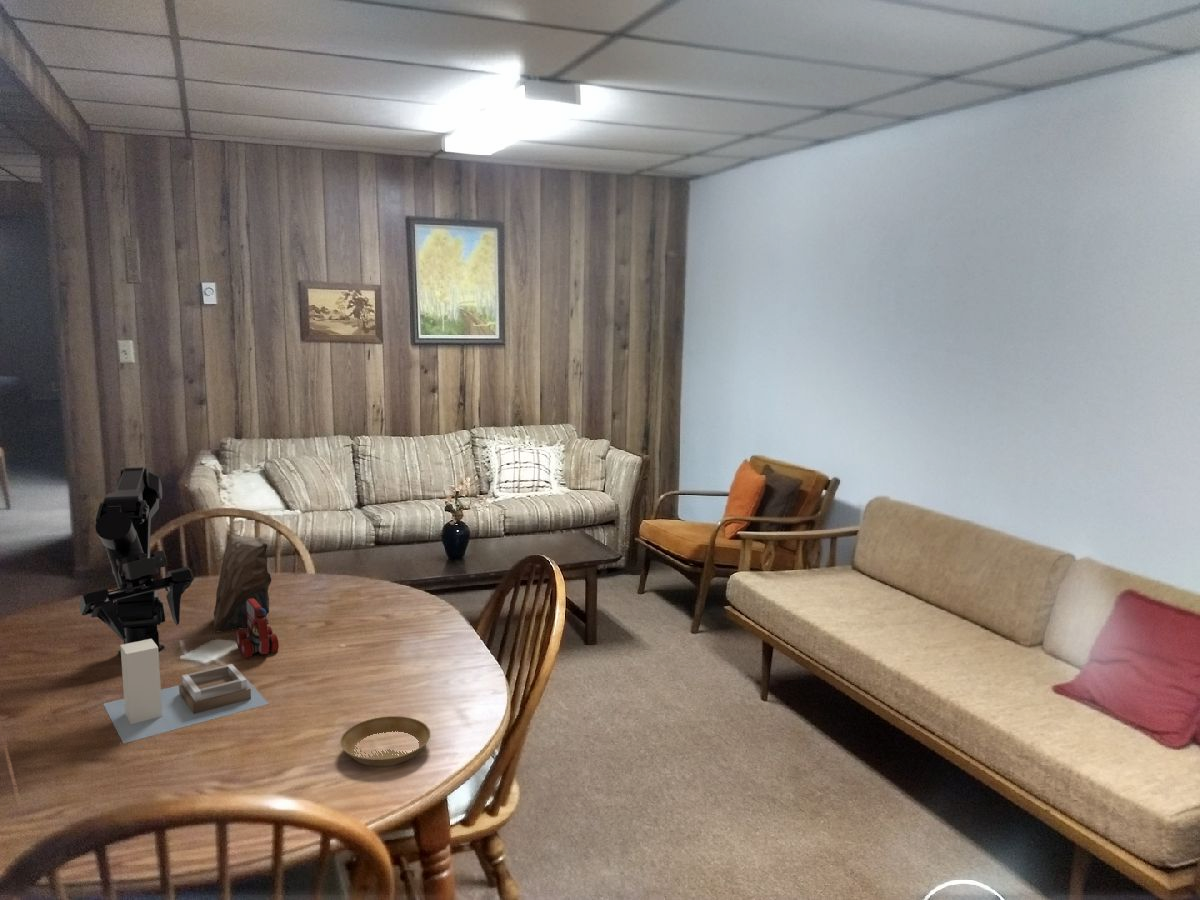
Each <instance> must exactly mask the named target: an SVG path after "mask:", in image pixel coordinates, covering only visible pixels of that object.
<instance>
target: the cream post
mask: <svg viewBox="0 0 1200 900" xmlns="http://www.w3.org/2000/svg"><path fill="white" fill-rule="evenodd" d="M119 647H120V650H121V654H120V656H121V657H120V658H121V659H120V661H121V673H122V687H123V689H122V690H123V699H124V704H125V714H126V716H127V718H128V720H129V721H130V723H131V724H134V723H138V722H142V721H146V720H150V719H153V718H157V717H161V716H162V700H161V690H162V686H161V673H160V671H161V670H160V657H159V656H160V655H159V650H158V646H157V645H156V644H155V642H154V641H153V640H152V639H147V640H142V641H137V642H132V643H128V644H124V643H122V644H120V646H119Z"/></svg>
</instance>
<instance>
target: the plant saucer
mask: <svg viewBox="0 0 1200 900" xmlns="http://www.w3.org/2000/svg"><path fill="white" fill-rule="evenodd" d="M430 729H431V728H429V726H428V725H427V724H426V723H424V722H422V721H420V720H419V719H415V718H412V717H407V716H400V715H398V716H397V715H393V716H392V715H390V716H379V717H375V718H369V719H366V720H363V721H360V722H358V723H355V724H354V725H352V726H351V727H349V728H348V729H346V731H345V732H344V733H343V734H342V735H341V737H340V747H341V748H342V750H343V751H344V752H345V754H347V755H348V756H349V757H350V758H352V759H353V760H354V761H356V762H358V763H360V764H361V765H366V766H369V765H370V767H389V766H390V767H391V766H396V765H399V764H401V763H405V762H406V761H409V760H410V759H411V758H412V759H413V757H415V756H416V755H417V754H418V753H419V752H420V751H422V749H423V748H424V747H425V746H426V745H427V743H428V742H429V740H430V738H431V730H430ZM392 731H393V732H395V731H396V732H397V731H398V732H404V733H408V734H410V735H412V736H414V737H415V738H416V739H417V740H418V741H419V742H418V743H419V748H418V749H416V750H414V751H413V750H412V752H410V753H407V752H406V751H405V752H406V754H405V753H404V752H403V751H402V753H403V754H402V753H401V752H400V751H399V753H398V752H397V751H396V752H395V751H394V750H392V751H391V750H390V749H389V750H388V749H387V751H388V752H389V753H388V752H387V751H386V750H385V751H386V753H385V752H384V751H383V750H382V751H381V752H382V754H383V756H382V754H381V753H380V752H379V751H378V753H379V754H378V753H377V751H376V750H375V751H376V753H377V754H378V756H379V757H378V756H377V755H376V753H375V755H374V754H373V753H372V751H371V753H372V754H373V756H374V757H375V758H374V757H373V756H372V758H371V756H370V755H369V754H368V756H369V758H366V756H365V755H364V756H365V758H364V757H363V755H362V754H361V753H360V754H361V756H362V757H361V756H360V757H358V755H357V756H355V754H356V752H357V750H356V749H358V748H357V747H356V746H355V745H357V743H358V742H359V743H360V741H361V740H363V739H364V738H366V737H367V736H370V735H373V734H377V733H378V734H379V733H383V732H384V733H386V732H392ZM355 747H356V749H355ZM354 749H355V750H356V752H355V751H354ZM360 752H362V751H361V749H360ZM354 753H355V754H354ZM364 753H365V752H364ZM357 754H359V753H358V752H357ZM365 754H366V753H365ZM392 754H393V755H392ZM395 754H396V755H395ZM397 754H399V756H398V755H397ZM404 761H405V762H404Z"/></svg>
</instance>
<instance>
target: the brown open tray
mask: <svg viewBox="0 0 1200 900" xmlns="http://www.w3.org/2000/svg"><path fill="white" fill-rule="evenodd" d="M239 671H240V670H238V668H237V667H235V665H234V664H233V663H229V664H224V665H221V666H216V667H212V668H207V669H203V670H199V671H195V672H191V673H186V674H182V675H181V680H182V682H181V683H179V684H178V685H179V694H180V695H181V697H182V698H183V700H184V701H185V702H186V704H187V705H188V707H189V708H190V709H191V711H192V712H193V714H196V713H200V712H203V711H207V710H211V709H215V708H219V707H222V706H226V705H230V704H234V703H238V702H241V701H245V700H249V699H251V689H250V688H249V687H248V685H247V680H248V679H247V678H246V677H245V676H244V675H243V673H242V672H241V671H240V672H241V673H240V672H239ZM246 679H247V680H246Z"/></svg>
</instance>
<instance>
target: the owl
mask: <svg viewBox="0 0 1200 900" xmlns="http://www.w3.org/2000/svg"><path fill="white" fill-rule="evenodd" d="M227 536H228V538H227V540H228V541H227V544H226V546H225V549H224V554H223V556H222V558H223V559H222V563H221V569H220V574H219V579H218V583H217V584H218V585H217V587H216V588H217V589H216V593H215V594H216V595H215V596H216V597H215V607H214V610H213V617H214V618H213V625H214V626H213V627H214V631H215V632H214V633H218V632H217V631H221V632H225V631H224V630H228V631H235V630H234V629H236V630H240V629H239V628H245V629H247V600H248V599H252V598H254V599H255V600H256V601H257V602H258V603H259V605H260V606H261V607H262V608H264V609H265V610H266V615H265V616H264V617H265V618H266V621H267V625H268V624H269V623H268V622H269V620H268V618H267V616H268V614H269V613H270V595H269V588H270V585H271V584H272V583H271V582H272V577H271V574H270V573H269V571H268V557H269V556H268V553H267V549H268V547H269V546H268V545H269V544H267V543H265V542H264V540H263V538H262V537H250V536H247V537H246V536H245V537H244V536H241V535H239V534H232V533H230V534H228V535H227ZM232 629H233V630H232Z"/></svg>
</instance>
